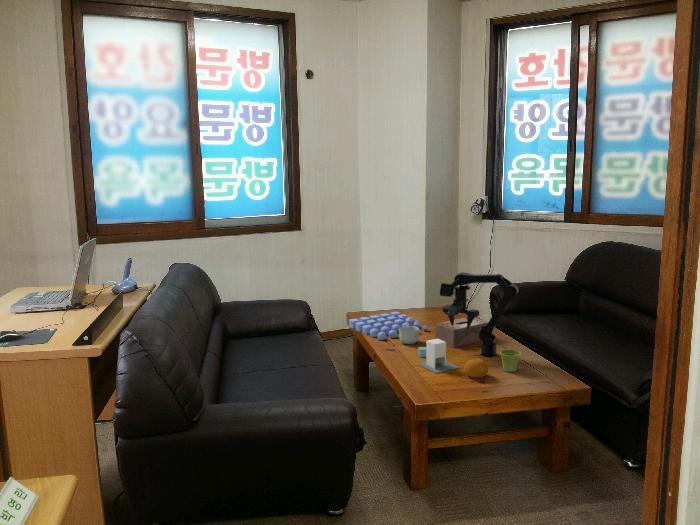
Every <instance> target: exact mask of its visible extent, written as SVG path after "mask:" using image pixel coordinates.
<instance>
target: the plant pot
mask: <svg viewBox="0 0 700 525" xmlns="http://www.w3.org/2000/svg"><path fill="white" fill-rule="evenodd" d="M499 354H500V357H501V363H502V370H503V371H504V372H506V373H512V372H513V373H515V372H516V371H517V369H518V363H519V360H520V356H521V354H522V353H521V351H519V350H516V349H511V348H510V349H509V348H508V349H506V348H505V349H502V350H500V351H499Z"/></svg>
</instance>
